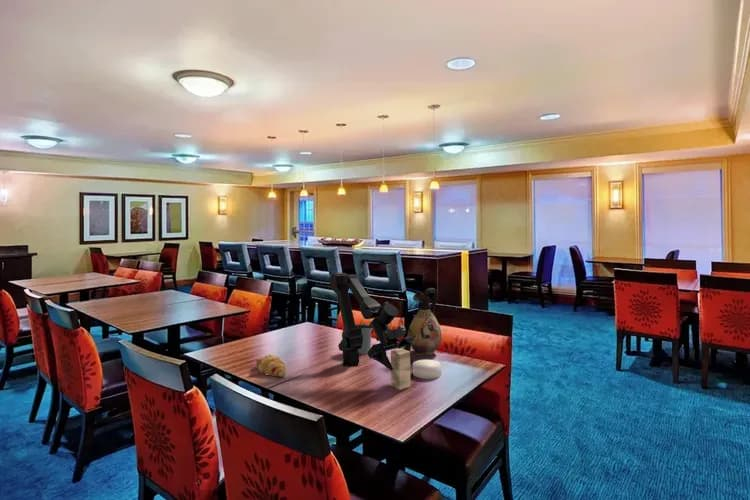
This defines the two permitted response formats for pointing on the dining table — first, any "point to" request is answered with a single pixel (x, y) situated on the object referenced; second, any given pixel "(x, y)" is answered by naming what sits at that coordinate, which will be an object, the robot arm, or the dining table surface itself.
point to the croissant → (271, 366)
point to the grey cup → (365, 338)
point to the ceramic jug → (425, 325)
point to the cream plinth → (427, 369)
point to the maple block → (400, 368)
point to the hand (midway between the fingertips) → (402, 367)
